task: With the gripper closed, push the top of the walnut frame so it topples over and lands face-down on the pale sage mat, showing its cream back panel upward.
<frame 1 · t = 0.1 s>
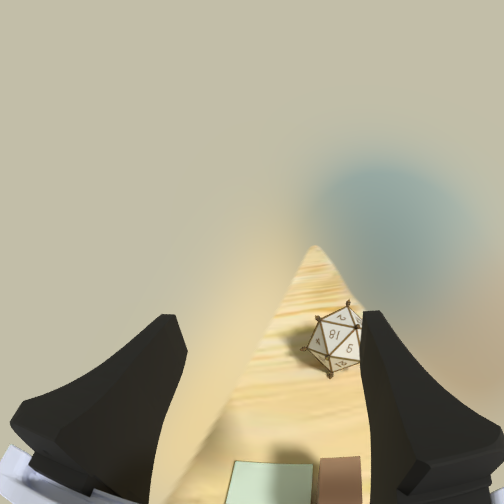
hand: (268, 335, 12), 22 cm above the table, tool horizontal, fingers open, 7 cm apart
game die: (338, 364, 39), on the table
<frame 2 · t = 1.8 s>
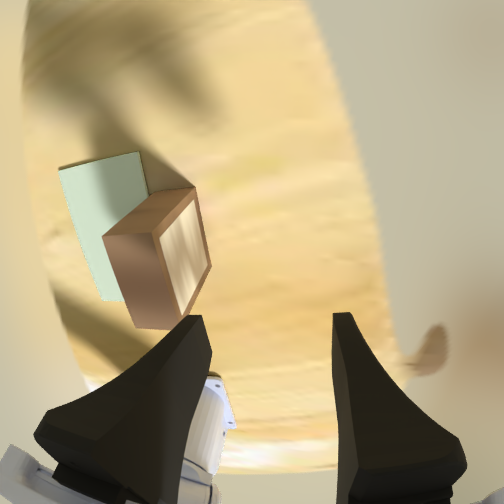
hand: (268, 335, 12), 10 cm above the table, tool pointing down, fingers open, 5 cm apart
walnut frame: (183, 229, 22), on the table
sage mat: (116, 235, 23), on the table
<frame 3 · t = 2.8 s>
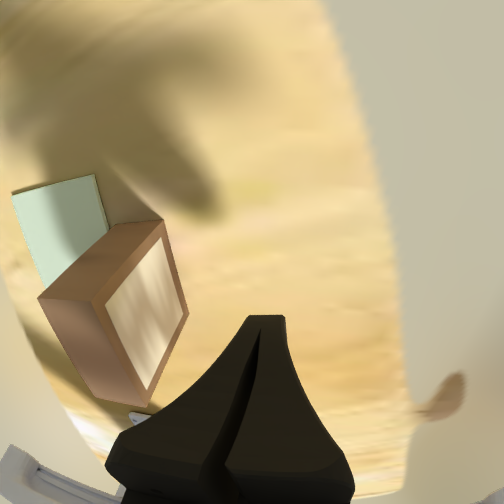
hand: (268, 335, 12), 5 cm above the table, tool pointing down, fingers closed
walnut frame: (153, 270, 18), on the table
sage mat: (77, 273, 19), on the table
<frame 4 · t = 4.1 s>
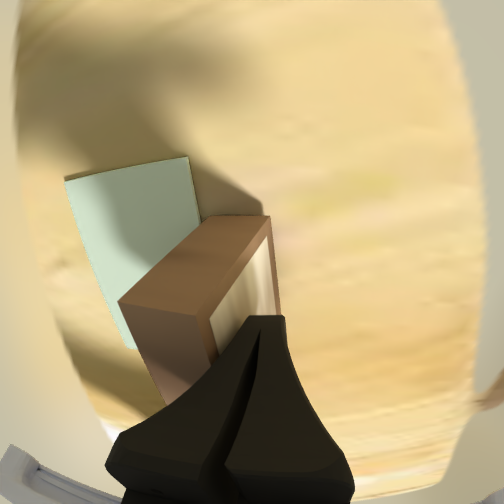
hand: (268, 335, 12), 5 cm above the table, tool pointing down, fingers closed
walnut frame: (247, 271, 16), on the table, tilted 11°
sage mat: (148, 272, 18), on the table
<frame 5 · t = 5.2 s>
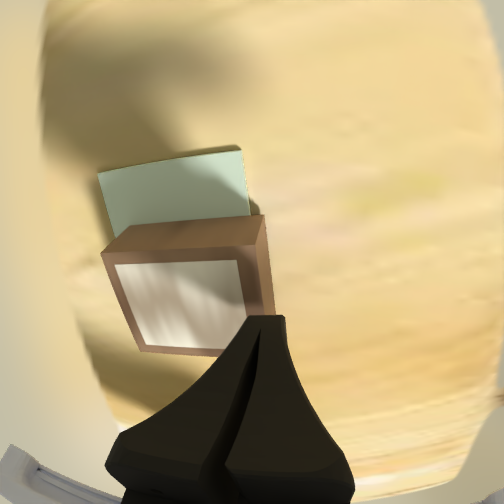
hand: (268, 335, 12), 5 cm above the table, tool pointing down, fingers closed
walnut frame: (267, 288, 15), point 2 cm above the table, tilted 90°, touching sage mat
sage mat: (188, 270, 17), on the table
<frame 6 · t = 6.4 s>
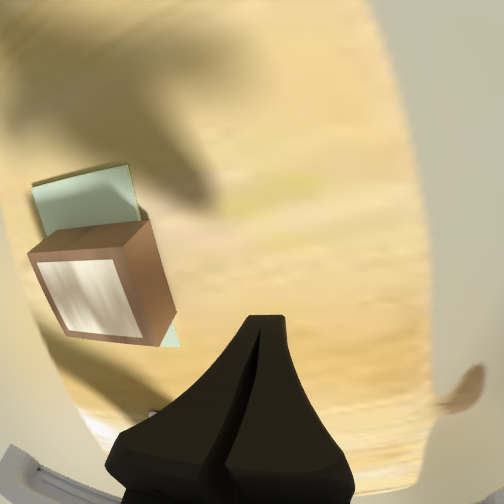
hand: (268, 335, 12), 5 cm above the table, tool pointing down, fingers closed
walnut frame: (153, 284, 16), point 2 cm above the table, tilted 90°, touching sage mat
sage mat: (103, 268, 19), on the table
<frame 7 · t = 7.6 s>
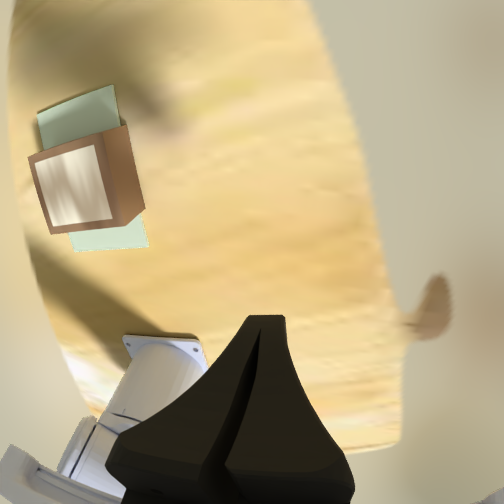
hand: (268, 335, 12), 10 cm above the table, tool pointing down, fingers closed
walnut frame: (125, 173, 19), point 2 cm above the table, tilted 90°, touching sage mat
sage mat: (88, 176, 21), on the table
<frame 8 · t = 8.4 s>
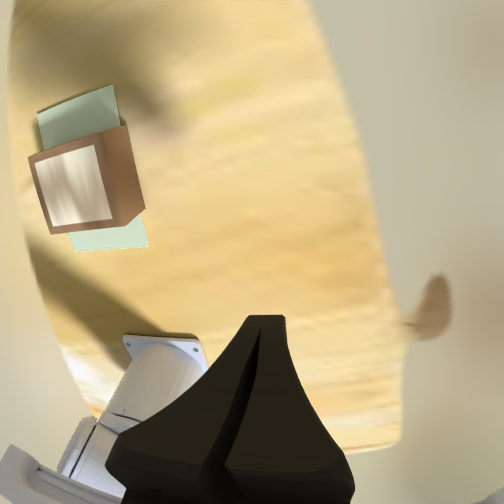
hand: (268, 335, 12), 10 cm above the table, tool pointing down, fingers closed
walnut frame: (125, 173, 19), point 2 cm above the table, tilted 90°, touching sage mat
sage mat: (88, 176, 21), on the table
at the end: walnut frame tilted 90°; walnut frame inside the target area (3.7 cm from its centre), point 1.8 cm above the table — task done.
